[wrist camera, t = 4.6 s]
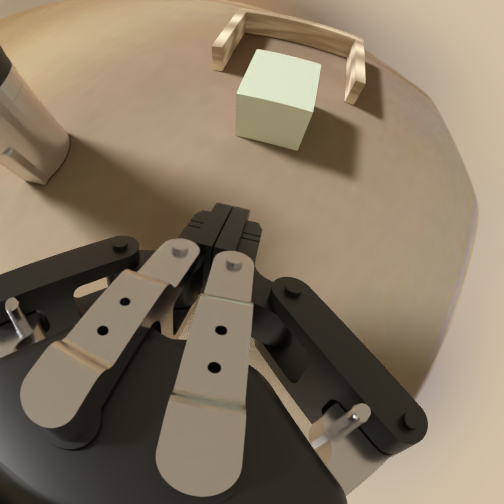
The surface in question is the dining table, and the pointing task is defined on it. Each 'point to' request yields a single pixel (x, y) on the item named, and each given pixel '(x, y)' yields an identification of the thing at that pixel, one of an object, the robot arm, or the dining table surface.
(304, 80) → the sage block
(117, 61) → the dining table surface
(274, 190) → the dining table surface
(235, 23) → the birch corral
